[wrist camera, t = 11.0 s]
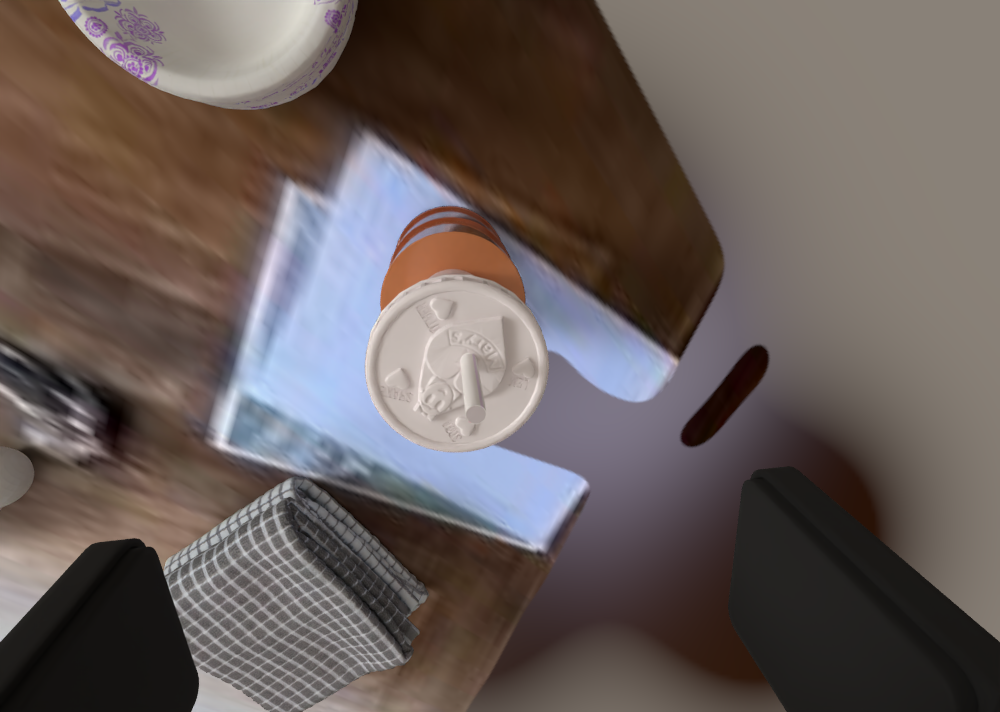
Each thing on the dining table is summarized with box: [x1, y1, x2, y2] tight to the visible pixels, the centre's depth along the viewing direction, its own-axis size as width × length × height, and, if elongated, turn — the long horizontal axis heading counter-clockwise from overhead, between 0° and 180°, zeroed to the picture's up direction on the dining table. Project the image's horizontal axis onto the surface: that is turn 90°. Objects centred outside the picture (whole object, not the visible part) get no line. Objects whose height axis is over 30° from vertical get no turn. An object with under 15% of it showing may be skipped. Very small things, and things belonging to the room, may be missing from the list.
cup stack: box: [380, 206, 525, 312], centre depth 34 cm, size 8×8×14 cm
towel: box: [163, 477, 429, 712], centre depth 45 cm, size 15×18×8 cm
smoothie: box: [365, 269, 549, 452], centre depth 21 cm, size 6×6×14 cm
